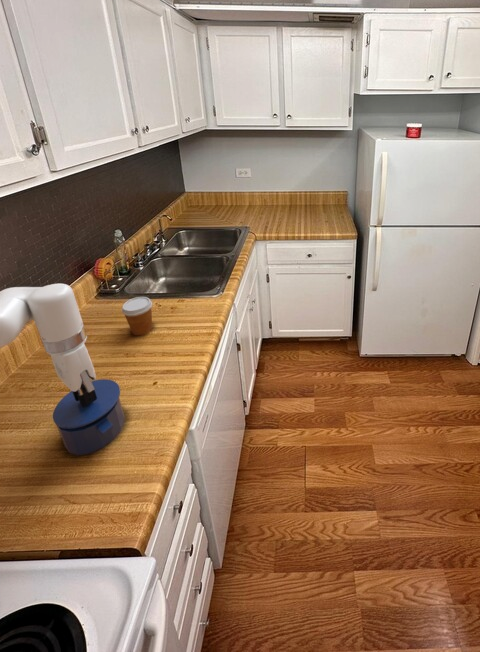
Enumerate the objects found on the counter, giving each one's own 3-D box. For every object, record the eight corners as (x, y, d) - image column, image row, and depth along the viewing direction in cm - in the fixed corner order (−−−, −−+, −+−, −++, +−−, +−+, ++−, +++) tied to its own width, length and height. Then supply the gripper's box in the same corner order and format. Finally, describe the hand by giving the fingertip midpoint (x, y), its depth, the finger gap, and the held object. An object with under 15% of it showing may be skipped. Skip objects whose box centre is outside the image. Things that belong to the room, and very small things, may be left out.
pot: (85, 475, 74) (76, 449, 71) (52, 432, 83) (43, 407, 80) (140, 431, 84) (134, 407, 81) (105, 398, 93) (98, 374, 90)
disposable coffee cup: (122, 335, 118) (114, 307, 113) (145, 320, 126) (139, 293, 121) (140, 343, 114) (133, 314, 109) (163, 327, 122) (157, 300, 117)
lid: (69, 442, 71) (61, 422, 69) (44, 411, 79) (36, 391, 76) (131, 398, 82) (126, 379, 80) (104, 374, 89) (99, 356, 87)
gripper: (30, 333, 74) (54, 394, 81) (61, 363, 66) (84, 429, 72) (68, 316, 80) (88, 375, 87) (101, 342, 71) (119, 405, 78)
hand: (86, 399), depth 79 cm, fingers closed on lid, 2 cm apart
